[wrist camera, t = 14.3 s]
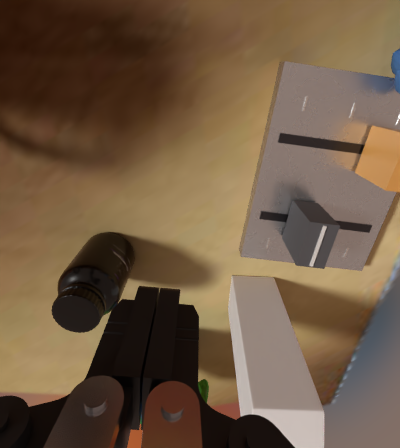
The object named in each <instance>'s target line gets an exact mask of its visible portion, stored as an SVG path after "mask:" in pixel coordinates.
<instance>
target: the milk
mask: <svg viewBox="0 0 400 448" xmlns="http://www.w3.org/2000/svg"><path fill="white" fill-rule="evenodd" d="M228 312H229V320H230V329H231V337H232V346H233V354H234V363H235V371H236V380H237V388H238V397H239V405H240V414H241V417H242V416H244V415H249V414H255V415H259V416H262V417H264V418H266V419H268V420H269V421H271V422H272V423H273V424H274V425H275V426H276V427H277V428H278V429H279V430H280V431H281V432H282V434H283V435H284V436H285V437H286V438H287V439H288V440H289V441H290V443H291V444H292V445H293V446H294V447H295V448H324V410H323V407H322V405H321V402H320V399H319V397H318V394H317V391H316V389H315V386H314V383H313V381H312V378H311V375H310V372H309V370H308V367H307V364H306V362H305V359H304V356H303V354H302V351H301V348H300V346H299V343H298V340H297V338H296V335H295V332H294V330H293V327H292V324H291V322H290V319H289V316H288V314H287V311H286V308H285V306H284V303H283V300H282V298H281V295H280V292H279V290H278V287H277V284H276V282H275V279H274V277H257V276H232V278H231V287H230V296H229V305H228Z"/></svg>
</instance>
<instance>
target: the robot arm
mask: <svg viewBox="0 0 400 448" xmlns="http://www.w3.org/2000/svg"><path fill="white" fill-rule="evenodd" d="M179 297H180V289H168V288H160V293H159V288H156V287H145V286H139V287H138V290H137V294H136V297H135V300H126V299H122V300H121V301H120V302H119V303H118V304H117V305H116V306H115V307H114V308H113V309H112V311H111V314H110V317H109V319H108V323H107V324H106V327H105V330H104V333H103V335H102V337H101V340H100V343H99V345H98V348H97V350H96V353H95V356H94V358H93V361H92V363H91V366H90V369H89V371H88V374H87V376H86V378H85V379H84V381H82V382H81V383H80V384H78V385H77V386H76V387H75V388H74V389H73V391H72V392H71V393H70V394H69V395H67V396H65V397H63V398H61V399H59V400H55V401H52V402H48V403H43V404H39V405H35V406H31V407H28V405H27V403H26V402H25V401H24V400H23V399H21V398H19V397H16V396H3V397H0V448H127V445H128V440H129V435H130V430H131V429H133V430H139V425H140V421H141V415H142V421H141V430H143V434H142V445H141V448H295V447H294V446H293V445H292V444H291V443H290V441H289V440H288V439H287V438H286V437H285V436H284V435H283V434H282V432H281V431H280V430H279V429H278V428H277V427H276V426H275V425H274V424H273V423H272V422H271V421H269V420H268V419H266V418H264V417H262V416H259V415H255V414H249V415H244V416H242V417H240V418H238V419H237V420H235V419H232V418H230V417H228V416H226V415H223V414H221V413H219V412H217V411H215V410H214V409H212V408H211V407H210V406H209V405H208V404H207V403H206V402H205V401H204V399H203V398H202V396H201V394H200V391H199V387H198V345H199V342H198V340H199V316H198V314H197V312H196V310H195V308H194V306H193V305H184V304H179Z"/></svg>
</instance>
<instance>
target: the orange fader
mask: <svg viewBox="0 0 400 448" xmlns="http://www.w3.org/2000/svg"><path fill="white" fill-rule="evenodd" d="M355 173H356V174H358V175H359V176H361V177H363V178H365V179H366V180H368V181H370V182H372V183H373V184H375V185H377V186H379V187H380V188H382V189H384V190H386V191H393V192H400V130H399V129H392V128H385V127H378V126H372V127H371V130H370V132H369V135H368V138H367V141H366V143H365V146H364V149H363V151H362V154H361V157H360V160H359V162H358V165H357V168H356V171H355Z"/></svg>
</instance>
